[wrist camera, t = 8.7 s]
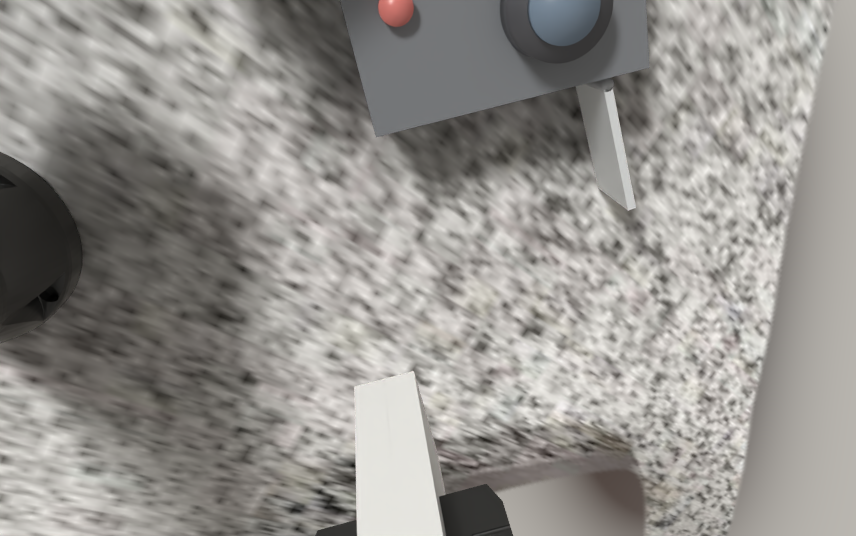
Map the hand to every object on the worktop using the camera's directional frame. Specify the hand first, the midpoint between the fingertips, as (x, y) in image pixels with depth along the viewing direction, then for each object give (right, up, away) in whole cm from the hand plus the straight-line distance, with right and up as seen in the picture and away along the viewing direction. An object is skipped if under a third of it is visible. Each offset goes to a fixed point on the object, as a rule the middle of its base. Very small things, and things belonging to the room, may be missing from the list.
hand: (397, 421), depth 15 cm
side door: (+13, +15, +30) cm, 36 cm away
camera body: (+4, +22, +27) cm, 35 cm away
